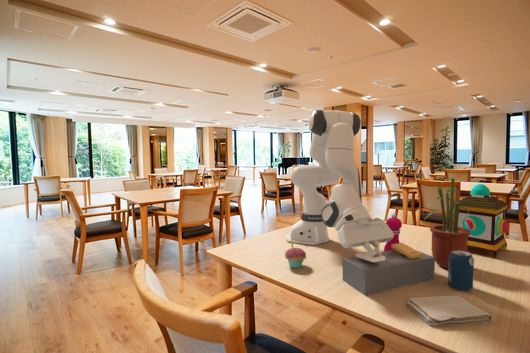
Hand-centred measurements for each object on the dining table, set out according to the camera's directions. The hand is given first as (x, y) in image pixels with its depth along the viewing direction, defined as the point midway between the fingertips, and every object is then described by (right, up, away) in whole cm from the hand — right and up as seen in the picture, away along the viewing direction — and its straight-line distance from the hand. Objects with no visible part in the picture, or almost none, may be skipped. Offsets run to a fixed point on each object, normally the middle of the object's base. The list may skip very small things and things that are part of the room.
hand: (376, 255), depth 98 cm
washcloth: (+14, -13, -15) cm, 24 cm away
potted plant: (+34, -9, +20) cm, 40 cm away
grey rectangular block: (+7, -10, +7) cm, 14 cm away
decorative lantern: (+59, -7, +35) cm, 69 cm away
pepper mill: (+15, -9, +23) cm, 29 cm away
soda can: (+28, -11, 0) cm, 30 cm away
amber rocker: (+14, -1, +8) cm, 16 cm away
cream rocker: (-1, -1, +3) cm, 3 cm away
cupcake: (-25, -10, +21) cm, 34 cm away
